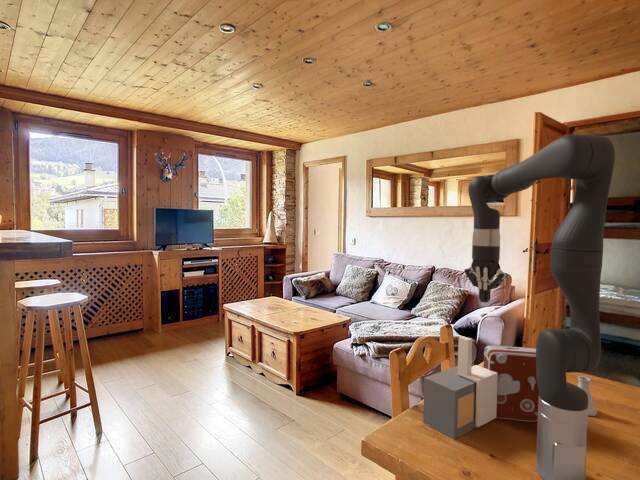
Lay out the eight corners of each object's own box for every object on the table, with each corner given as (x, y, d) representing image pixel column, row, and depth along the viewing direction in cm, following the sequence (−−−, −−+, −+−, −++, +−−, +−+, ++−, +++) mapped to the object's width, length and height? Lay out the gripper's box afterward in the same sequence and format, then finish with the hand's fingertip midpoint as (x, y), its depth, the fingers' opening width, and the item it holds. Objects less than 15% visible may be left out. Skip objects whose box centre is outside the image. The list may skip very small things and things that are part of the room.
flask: (569, 412, 111) (571, 380, 110) (567, 402, 117) (568, 371, 117) (599, 419, 108) (601, 385, 107) (595, 408, 114) (597, 376, 113)
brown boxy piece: (562, 428, 103) (565, 357, 102) (487, 420, 107) (489, 351, 106) (549, 411, 112) (552, 346, 111) (480, 404, 116) (482, 341, 115)
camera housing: (464, 403, 116) (465, 362, 116) (495, 417, 108) (496, 373, 107) (423, 422, 105) (424, 377, 105) (453, 439, 97) (455, 391, 96)
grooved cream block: (474, 407, 112) (476, 332, 111) (496, 417, 106) (498, 338, 105) (456, 416, 107) (458, 337, 105) (477, 427, 101) (480, 344, 100)
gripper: (514, 245, 107) (512, 304, 108) (473, 242, 118) (471, 296, 119) (500, 246, 103) (498, 308, 104) (458, 243, 113) (457, 299, 114)
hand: (484, 301), depth 111 cm, fingers closed
